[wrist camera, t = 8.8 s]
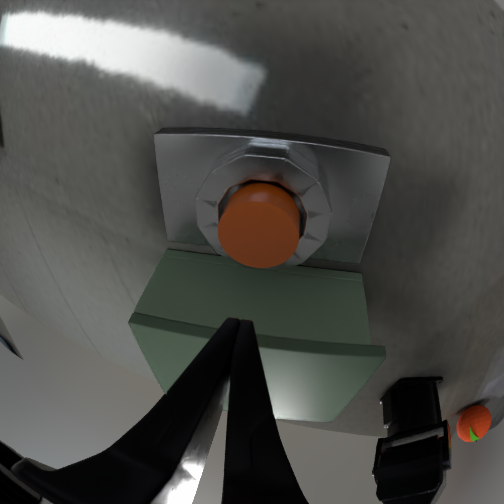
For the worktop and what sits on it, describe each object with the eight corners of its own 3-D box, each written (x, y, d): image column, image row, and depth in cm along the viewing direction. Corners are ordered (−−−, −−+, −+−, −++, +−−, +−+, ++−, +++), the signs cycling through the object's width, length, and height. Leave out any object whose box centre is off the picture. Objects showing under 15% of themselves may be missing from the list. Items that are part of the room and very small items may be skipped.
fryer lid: (385, 345, 14) (386, 357, 14) (332, 414, 22) (331, 422, 21) (132, 311, 16) (127, 322, 15) (169, 391, 23) (167, 398, 22)
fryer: (361, 272, 19) (372, 344, 14) (324, 358, 26) (323, 413, 22) (166, 248, 20) (132, 311, 16) (186, 339, 28) (169, 390, 23)
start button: (304, 187, 13) (304, 207, 12) (294, 249, 15) (293, 272, 14) (225, 179, 13) (215, 197, 12) (226, 241, 15) (218, 263, 14)
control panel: (385, 149, 13) (402, 171, 11) (357, 252, 18) (363, 285, 16) (162, 127, 14) (136, 145, 12) (173, 230, 19) (156, 259, 17)
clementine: (448, 410, 35) (452, 447, 29) (483, 394, 31) (489, 432, 26) (459, 416, 37) (463, 448, 32) (490, 401, 33) (496, 434, 28)
